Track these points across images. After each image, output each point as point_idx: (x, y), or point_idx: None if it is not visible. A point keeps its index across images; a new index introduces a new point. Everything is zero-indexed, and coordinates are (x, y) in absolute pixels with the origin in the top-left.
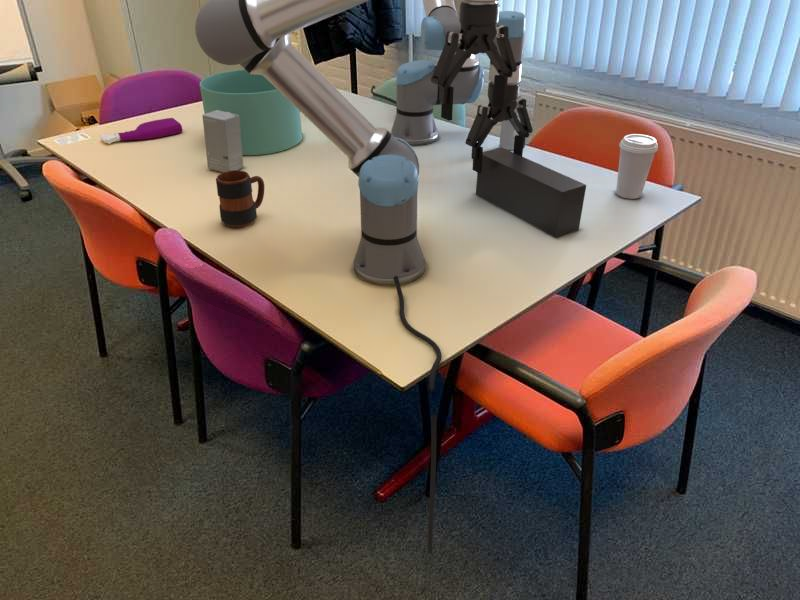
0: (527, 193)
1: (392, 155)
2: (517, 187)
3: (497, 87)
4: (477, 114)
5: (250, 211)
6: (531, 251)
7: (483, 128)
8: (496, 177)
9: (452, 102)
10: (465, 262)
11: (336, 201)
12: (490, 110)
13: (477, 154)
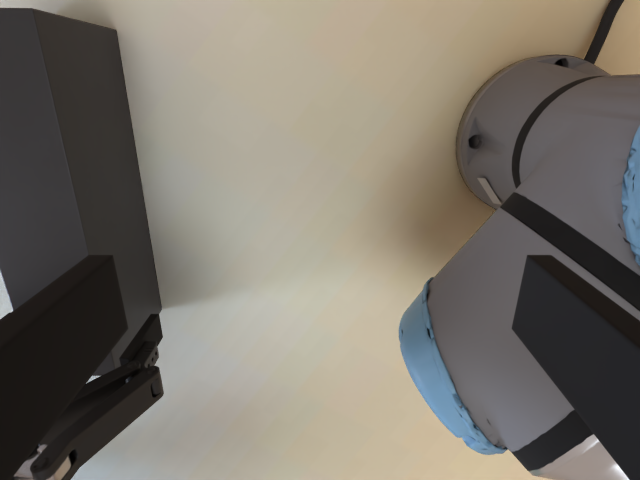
0: (99, 162)
1: None
2: (106, 204)
3: (33, 393)
4: (77, 465)
5: None
6: (215, 9)
7: (81, 413)
8: (122, 282)
9: (608, 317)
10: (384, 62)
11: (423, 415)
12: None
13: (143, 351)
